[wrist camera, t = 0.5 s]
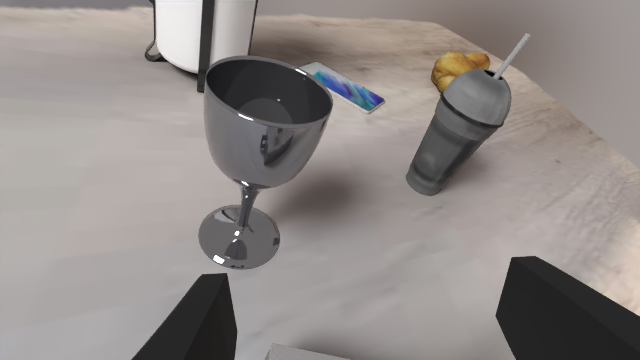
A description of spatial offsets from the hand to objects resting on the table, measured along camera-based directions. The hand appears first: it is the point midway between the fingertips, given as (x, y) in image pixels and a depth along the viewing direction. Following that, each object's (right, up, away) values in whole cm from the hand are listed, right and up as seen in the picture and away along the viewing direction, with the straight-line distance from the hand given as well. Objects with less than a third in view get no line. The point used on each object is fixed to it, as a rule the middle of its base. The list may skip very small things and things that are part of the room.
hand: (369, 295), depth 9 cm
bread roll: (+25, +22, +64) cm, 72 cm away
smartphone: (+2, +18, +50) cm, 53 cm away
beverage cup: (+12, +2, +36) cm, 38 cm away
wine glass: (-9, -2, +22) cm, 24 cm away
